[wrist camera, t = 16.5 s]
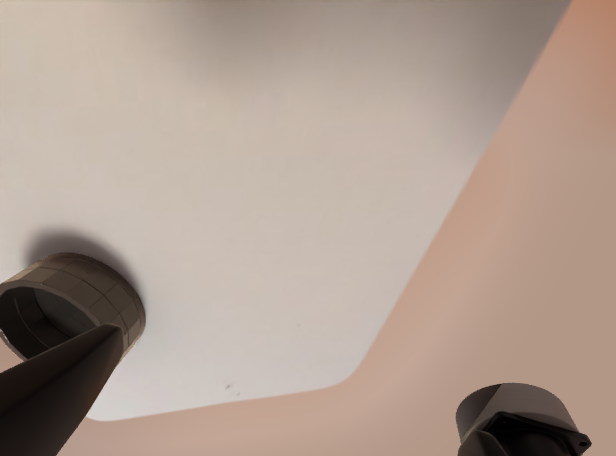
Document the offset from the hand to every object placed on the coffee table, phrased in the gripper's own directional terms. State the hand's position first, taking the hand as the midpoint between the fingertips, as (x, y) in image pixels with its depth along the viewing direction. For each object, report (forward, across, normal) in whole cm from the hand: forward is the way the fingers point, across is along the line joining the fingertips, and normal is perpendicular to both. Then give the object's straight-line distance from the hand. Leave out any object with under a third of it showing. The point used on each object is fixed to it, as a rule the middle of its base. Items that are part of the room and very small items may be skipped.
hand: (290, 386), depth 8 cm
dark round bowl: (+12, +16, +13) cm, 24 cm away
